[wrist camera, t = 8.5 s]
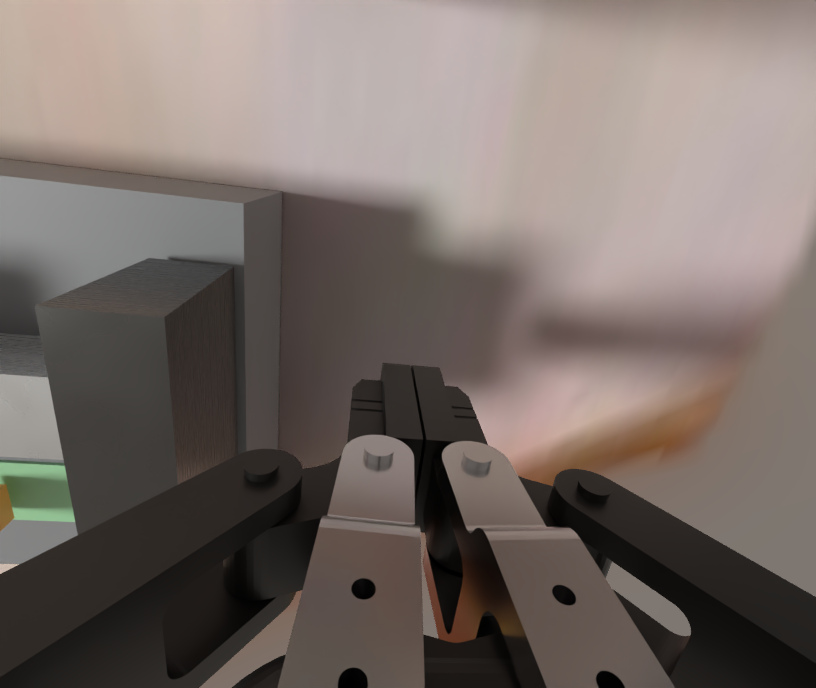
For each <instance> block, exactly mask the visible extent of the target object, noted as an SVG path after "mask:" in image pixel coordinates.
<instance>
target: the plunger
mask: <svg viewBox="0 0 816 688" xmlns="http://www.w3.org/2000/svg"><path fill="white" fill-rule="evenodd" d="M35 311H36V317H37V322H38V327H39V332H40V336H31V335H19V334H6V333H0V457H18V458H37V459H55V460H64V465H65V470H66V476H67V481H68V486H69V492H70V497H71V502H72V507H73V513H74V518H75V523H76V529H77V534H78V535H79V534H81V533H83V532H85V531H87V530H89V529H91V528H93V527H95V526H97V525H99V524H101V523H103V522H105V521H107V520H109V519H111V518H113V517H115V516H117V515H119V514H121V513H123V512H125V511H127V510H129V509H131V508H133V507H135V506H137V505H139V504H141V503H143V502H145V501H147V500H149V499H151V498H153V497H155V496H157V495H159V494H161V493H163V492H164V491H166V490H168V489H170V488H172V487H174V486H176V485H178V484H180V483H182V482H184V481H186V480H188V479H190V478H192V477H194V476H196V475H198V474H200V473H202V472H204V471H206V470H208V469H210V468H212V467H214V466H216V465H218V464H220V463H222V462H224V461H226V460H228V459H230V458H232V457H234V456H236V455H238V432H237V385H236V337H235V289H234V266H225V265H215V264H205V263H195V262H185V261H175V260H165V259H155V258H148V259H145V260H143V261H141V262H138V263H136V264H133V265H131V266H129V267H126V268H124V269H121V270H119V271H117V272H114V273H112V274H110V275H107V276H105V277H102V278H100V279H98V280H95V281H93V282H90V283H88V284H86V285H83V286H81V287H78V288H76V289H74V290H71V291H69V292H66V293H64V294H62V295H59V296H57V297H54V298H52V299H50V300H47V301H45V302H43V303H40V304H38V305H35Z"/></svg>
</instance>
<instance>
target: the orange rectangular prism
mask: <svg viewBox="0 0 816 688" xmlns="http://www.w3.org/2000/svg"><path fill="white" fill-rule="evenodd" d="M14 518H15V517H14V513H13V509H12V505H11V501H10V497H9V493H8V489H7V485H6V484H0V531H1V530H2V529H4V528H5V527H6V526H7V525H8V524H9V523H10V522H11V521H12V520H13V519H14Z"/></svg>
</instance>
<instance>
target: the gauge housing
mask: <svg viewBox="0 0 816 688" xmlns="http://www.w3.org/2000/svg"><path fill="white" fill-rule="evenodd" d="M281 246H282V192H281V191H273V190H264V189H256V188H247V187H239V186H230V185H222V184H214V183H205V182H197V181H188V180H180V179H171V178H163V177H155V176H146V175H138V174H129V173H121V172H113V171H104V170H96V169H87V168H79V167H70V166H62V165H54V164H45V163H37V162H28V161H20V160H11V159H3V158H0V333H6V334H19V335H31V336H40V332H39V327H38V322H37V317H36V311H35V305H38V304H40V303H43V302H45V301H47V300H50V299H52V298H54V297H57V296H59V295H62V294H64V293H66V292H69V291H71V290H74V289H76V288H78V287H81V286H83V285H86V284H88V283H90V282H93V281H95V280H98V279H100V278H102V277H105V276H107V275H110V274H112V273H114V272H117V271H119V270H121V269H124V268H126V267H129V266H131V265H133V264H136V263H138V262H141V261H143V260H145V259H148V258H155V259H165V260H175V261H185V262H195V263H205V264H215V265H225V266H234V289H235V337H236V385H237V432H238V454H241V453H243V452H246V451H250V450H255V449H276V450H278V421H279V362H280V304H281ZM0 484H6V485H7V489H8V493H9V497H10V501H11V505H12V509H13V513H14V517H15V518H14V519H13V520H12V521H11V522H10V523H9V524H8V525H7V526H6V527H5V528H4V529H2V530H1V531H0V564H22V563H24V562H26V561H28V560H29V559H31V558H33V557H35V556H37V555H39V554H41V553H43V552H45V551H47V550H49V549H51V548H53V547H55V546H57V545H59V544H61V543H63V542H65V541H67V540H69V539H71V538H73V537H75V536H77V535H78V534H77V529H76V523H75V518H74V513H73V507H72V502H71V497H70V492H69V486H68V481H67V476H66V470H65V465H64V460H55V459H37V458H18V457H0Z"/></svg>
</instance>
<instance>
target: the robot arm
mask: <svg viewBox="0 0 816 688" xmlns="http://www.w3.org/2000/svg"><path fill="white" fill-rule="evenodd" d="M421 532H424V533H425V535H426V546H425V551H424V558H423V567H424V572H425V576H426V581H427V586H428V591H429V596H430V600H431V605H432V610H433V615H434V620H435V624H436V629H437V634H438V639H437V638H434V637H430V636H426V635H423V604H422V603H423V602H422V565H421V564H422V563H421ZM612 561H613V562H614V563H616V564H617V565H618V566H620V567H622V568H623V569H624V570H626V571H627V572H629V573H630V574H632V575H633V576H634V577H636V578H637V579H639V580H640V581H642V582H643V583H645V584H646V585H648V586H649V587H650V588H652V589H653V590H655V591H656V592H658V593H659V594H660V595H662V596H663V597H665V598H666V599H668V600H669V601H670V602H672V603H673V604H675V605H676V606H677V607H678V608H679V609H680V610H681V611H682V612H683V613H684V614H685V616H686V617H687V619H688V621H689V624H690V626H691V635H690V636H680V635H677V634H674V633H672V632H671V631H669V630H668V629H666V628H665V627H664V626H662V625H661V624H660V623H658V622H657V621H655V620H654V619H653V618H651V617H650V616H649V615H647V614H646V613H645V612H643V611H642V610H640V609H639V608H638V607H636V606H635V605H634V604H632V603H631V602H629V601H628V600H627V599H625V598H624V597H623V596H621V595H620V594H619V593H617V592H616V591H615V590H613V589H612V588H611V586H610V585H609V583H608V581H607V580H606V576H607V573H608V571H609V568H610V565H611V563H612ZM300 590H302V594H301V598H300V602H299V606H298V610H297V613H296V617H295V621H294V625H293V629H292V633H291V637H290V641H289V645H288V648H287V652H286V655H283V656H281V657H278V658H276V659H274V660H272V661H271V662H269V663H267V664H265V665H263V666H262V667H260V668H258V669H257V670H255V671H254V672H252V673H251V674H249V675H248V676H246V677H245V678H243V679H242V680H241V681H239V682H238V683H237V684H236V685H235V686H233V687H232V688H816V597H815V596H813V595H811V594H809V593H808V592H806V591H804V590H802V589H800V588H799V587H797V586H795V585H794V584H792V583H790V582H788V581H787V580H785V579H783V578H781V577H779V576H778V575H776V574H774V573H773V572H771V571H769V570H767V569H765V568H763V567H762V566H760V565H758V564H757V563H755V562H753V561H751V560H750V559H748V558H746V557H744V556H743V555H741V554H739V553H737V552H736V551H734V550H732V549H730V548H728V547H727V546H725V545H723V544H722V543H720V542H718V541H716V540H715V539H713V538H711V537H709V536H708V535H706V534H704V533H702V532H701V531H699V530H697V529H695V528H693V527H692V526H690V525H688V524H687V523H685V522H683V521H681V520H679V519H678V518H676V517H674V516H672V515H671V514H669V513H667V512H665V511H664V510H662V509H660V508H658V507H656V506H655V505H653V504H651V503H650V502H648V501H646V500H644V499H643V498H641V497H639V496H637V495H636V494H634V493H632V492H630V491H629V490H627V489H625V488H623V487H622V486H620V485H618V484H616V483H615V482H613V481H611V480H609V479H607V478H605V477H604V476H601V475H599V474H597V473H593V472H590V471H586V470H580V469H568V470H564V471H562V472H560V473H559V474H557V476H556V477H555V480H554V484H553V486H550V485H546V484H542V483H539V482H535V481H531V480H528V479H525V478H522V477H519V476H517V474H516V472H515V470H514V468H513V467H512V465H511V463H510V461H509V460H508V459H507V457H506V456H505V455H504V454H503V453H501V452H500V451H498V450H497V449H495V448H493V447H491V446H489V445H488V444H487V441H486V439H485V436H484V434H483V431H482V429H481V426H480V424H479V421H478V419H477V416H476V414H475V411H474V410H473V406H472V404H471V402H470V399H469V397H468V396H467V395H466V394H465V393H464V392H462V391H461V390H460V389H459V388H458V387H451V386H445V385H444V381H443V378H442V375H441V372H440V369H439V368H436V367H425V366H413V365H412V366H411V367H410V365H401V364H389V363H383V365H382V372H381V380H380V381H376V380H364V379H362V380H361V381H360V382H359V383H357V384H356V385H355V386H354V387H353V391H352V402H351V412H350V422H349V432H348V442H347V444H346V446H345V447H344V449H343V452H342V455H341V456H340V457H339V458H338V459H336V460H334V461H333V462H330V463H328V464H325V465H322V466H318V467H313V468H306V469H302V466H301V464H300V462H299V461H298V460H297V458H295V457H294V456H293V455H291V454H289V453H287V452H284V451H281V450H276V449H255V450H250V451H246V452H243V453H241V454H238V455H236V456H234V457H232V458H230V459H228V460H226V461H224V462H222V463H220V464H218V465H216V466H214V467H212V468H210V469H208V470H206V471H204V472H202V473H200V474H198V475H196V476H194V477H192V478H190V479H188V480H186V481H184V482H182V483H180V484H178V485H176V486H174V487H172V488H170V489H168V490H166V491H164V492H163V493H161V494H159V495H157V496H155V497H153V498H151V499H149V500H147V501H145V502H143V503H141V504H139V505H137V506H135V507H133V508H131V509H129V510H127V511H125V512H123V513H121V514H119V515H117V516H115V517H113V518H111V519H109V520H107V521H105V522H103V523H101V524H99V525H97V526H95V527H93V528H91V529H89V530H87V531H85V532H83V533H81V534H79V535H77V536H75V537H73V538H71V539H69V540H67V541H65V542H63V543H61V544H59V545H57V546H55V547H53V548H51V549H49V550H47V551H45V552H43V553H41V554H39V555H37V556H35V557H33V558H31V559H29V560H28V561H26V562H24V563H22V564H20V565H18V566H16V567H14V568H12V569H10V570H8V571H6V572H4V573H2V574H0V688H199V687H200V686H201V685H202V684H203V683H205V682H206V681H207V680H208V679H209V678H210V677H211V676H212V675H213V674H215V673H216V672H217V671H218V670H219V669H220V668H221V667H222V666H223V665H224V664H226V663H227V662H228V661H229V660H230V659H231V658H232V657H233V656H234V655H235V654H237V653H238V652H239V651H240V650H241V649H242V648H243V647H244V646H245V645H246V644H247V643H249V642H250V641H251V640H252V639H253V638H254V637H255V636H256V635H257V634H258V633H260V632H261V631H262V629H264V628H265V627H266V626H267V625H268V624H269V623H271V622H272V621H273V620H274V619H275V618H276V617H277V616H278V615H279V614H280V613H281V612H283V611H284V610H285V609H286V608H287V607H288V606H289V605H290V603H291V602H292V600H293V598H294V596H295V594H296V592H297V591H300Z"/></svg>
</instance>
